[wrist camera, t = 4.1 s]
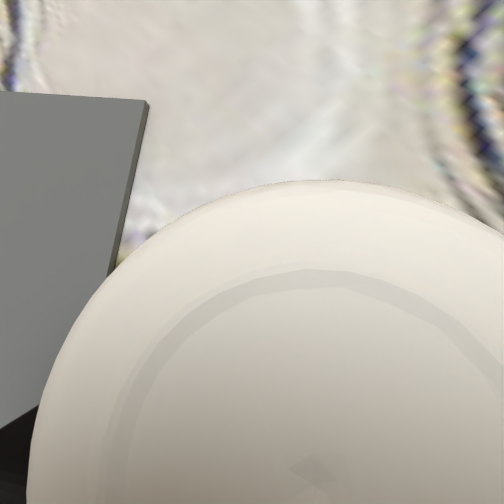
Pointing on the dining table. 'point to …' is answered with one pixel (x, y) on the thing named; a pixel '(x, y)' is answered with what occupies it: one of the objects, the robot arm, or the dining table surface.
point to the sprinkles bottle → (286, 359)
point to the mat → (57, 223)
